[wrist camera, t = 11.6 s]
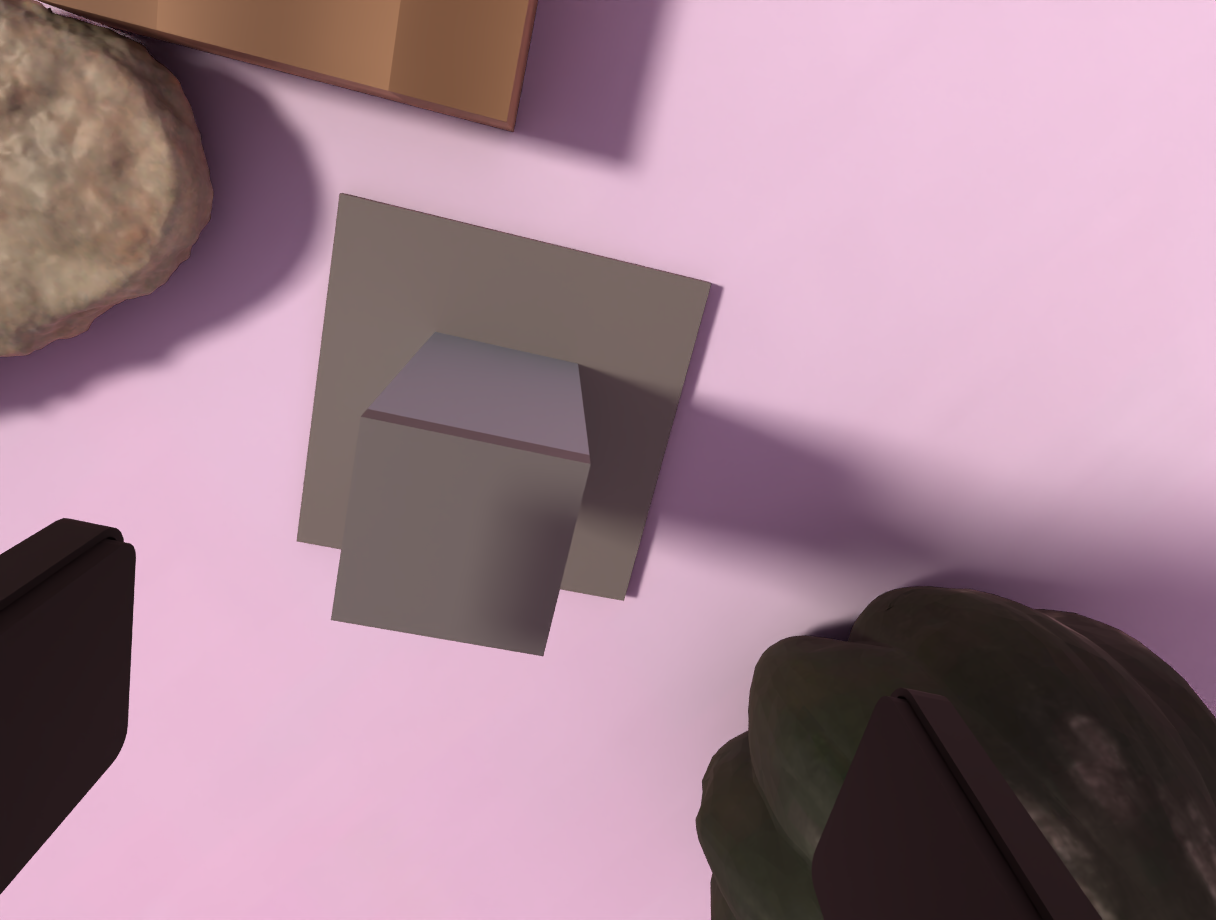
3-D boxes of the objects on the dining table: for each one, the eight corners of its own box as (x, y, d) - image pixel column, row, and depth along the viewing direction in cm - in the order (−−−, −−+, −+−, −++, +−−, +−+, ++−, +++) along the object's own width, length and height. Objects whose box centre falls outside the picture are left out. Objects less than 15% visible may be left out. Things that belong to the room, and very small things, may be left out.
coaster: (708, 282, 22) (711, 283, 21) (622, 594, 25) (623, 600, 24) (343, 193, 20) (340, 193, 20) (300, 535, 23) (296, 541, 23)
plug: (578, 363, 22) (590, 463, 14) (547, 493, 23) (542, 656, 15) (435, 331, 21) (360, 416, 13) (412, 466, 22) (330, 620, 14)
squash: (584, 1032, 23) (1182, 1678, 13) (634, 578, 19) (1563, 1034, 9) (821, 813, 33) (1264, 1092, 23) (889, 484, 29) (1463, 654, 19)
